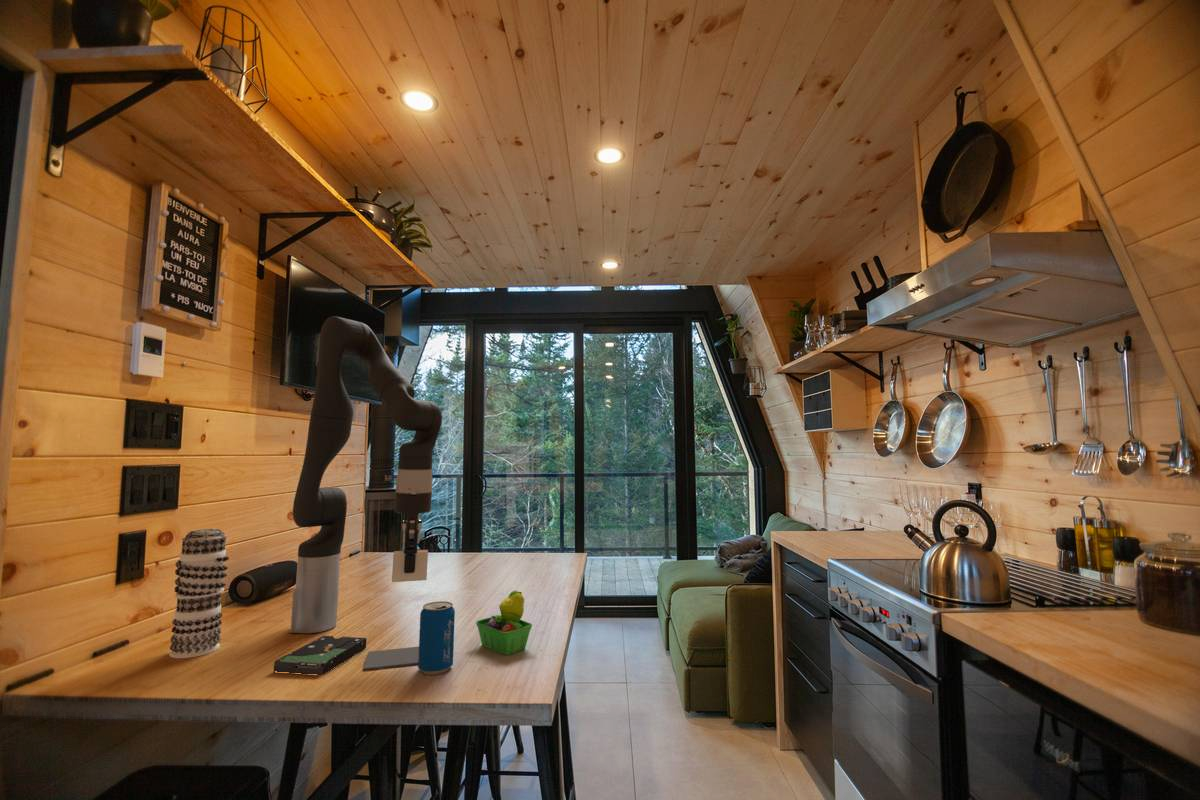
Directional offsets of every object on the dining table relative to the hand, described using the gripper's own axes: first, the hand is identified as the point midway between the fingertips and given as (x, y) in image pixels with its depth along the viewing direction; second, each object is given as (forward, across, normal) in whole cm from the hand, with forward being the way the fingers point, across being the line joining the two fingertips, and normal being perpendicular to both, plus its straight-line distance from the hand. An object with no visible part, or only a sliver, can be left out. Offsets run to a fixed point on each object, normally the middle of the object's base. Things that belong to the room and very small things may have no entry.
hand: (409, 571), depth 112 cm
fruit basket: (+16, +4, +21) cm, 27 cm away
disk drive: (+17, 0, -16) cm, 23 cm away
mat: (+16, +4, -2) cm, 17 cm away
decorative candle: (+17, -14, -42) cm, 48 cm away
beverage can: (+16, +12, +6) cm, 21 cm away
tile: (+2, 0, 0) cm, 2 cm away
